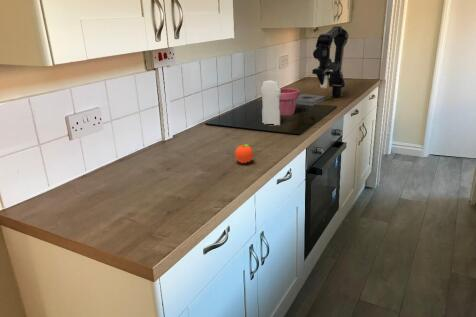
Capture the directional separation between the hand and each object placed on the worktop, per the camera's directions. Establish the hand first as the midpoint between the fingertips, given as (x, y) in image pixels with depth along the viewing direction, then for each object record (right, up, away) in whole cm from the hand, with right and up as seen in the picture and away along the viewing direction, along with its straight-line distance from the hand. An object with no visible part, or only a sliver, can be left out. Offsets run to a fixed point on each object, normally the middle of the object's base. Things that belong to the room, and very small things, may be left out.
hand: (323, 84), depth 235 cm
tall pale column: (-34, -27, -33) cm, 54 cm away
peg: (0, -2, +1) cm, 2 cm away
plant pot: (-24, -19, -14) cm, 34 cm away
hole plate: (-8, -9, +10) cm, 16 cm away
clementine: (-48, -45, -81) cm, 104 cm away
